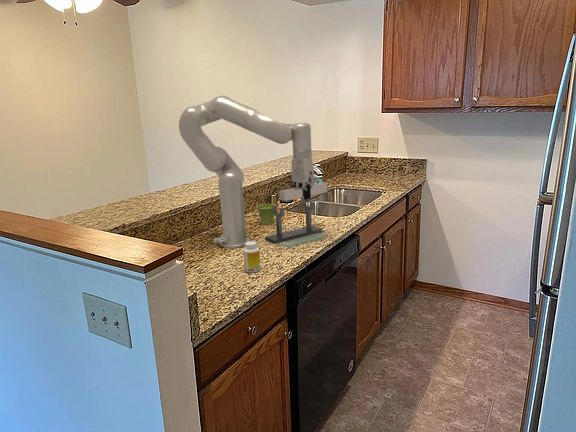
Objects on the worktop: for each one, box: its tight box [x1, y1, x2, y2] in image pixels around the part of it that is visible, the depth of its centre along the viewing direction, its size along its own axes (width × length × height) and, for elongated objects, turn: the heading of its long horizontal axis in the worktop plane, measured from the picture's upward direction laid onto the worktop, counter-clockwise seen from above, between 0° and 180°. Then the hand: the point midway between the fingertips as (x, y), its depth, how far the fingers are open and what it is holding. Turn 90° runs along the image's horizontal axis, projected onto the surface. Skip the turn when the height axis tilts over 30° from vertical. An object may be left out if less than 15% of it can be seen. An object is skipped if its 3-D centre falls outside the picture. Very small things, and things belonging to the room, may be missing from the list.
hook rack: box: [264, 199, 323, 245], centre depth 194 cm, size 26×7×14 cm, turn 125°
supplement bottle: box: [242, 240, 261, 274], centre depth 157 cm, size 6×6×10 cm
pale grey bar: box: [278, 182, 328, 202], centre depth 183 cm, size 22×4×4 cm, turn 125°
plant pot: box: [256, 203, 276, 226], centre depth 216 cm, size 9×9×9 cm
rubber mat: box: [279, 232, 328, 248], centre depth 188 cm, size 21×6×1 cm, turn 125°
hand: (304, 198), depth 184 cm, fingers closed on pale grey bar, 3 cm apart
